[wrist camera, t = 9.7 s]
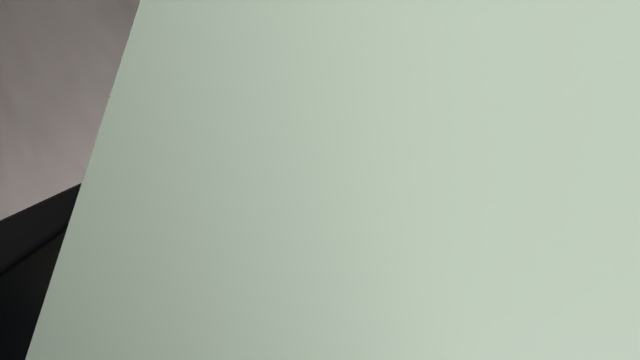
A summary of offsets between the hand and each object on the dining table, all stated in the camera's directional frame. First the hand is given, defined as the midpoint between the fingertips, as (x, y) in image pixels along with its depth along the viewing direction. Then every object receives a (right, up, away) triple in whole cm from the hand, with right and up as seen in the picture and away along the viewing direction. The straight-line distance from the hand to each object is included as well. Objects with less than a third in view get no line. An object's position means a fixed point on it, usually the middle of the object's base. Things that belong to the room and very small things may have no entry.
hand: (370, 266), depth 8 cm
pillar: (0, 0, +8) cm, 8 cm away
